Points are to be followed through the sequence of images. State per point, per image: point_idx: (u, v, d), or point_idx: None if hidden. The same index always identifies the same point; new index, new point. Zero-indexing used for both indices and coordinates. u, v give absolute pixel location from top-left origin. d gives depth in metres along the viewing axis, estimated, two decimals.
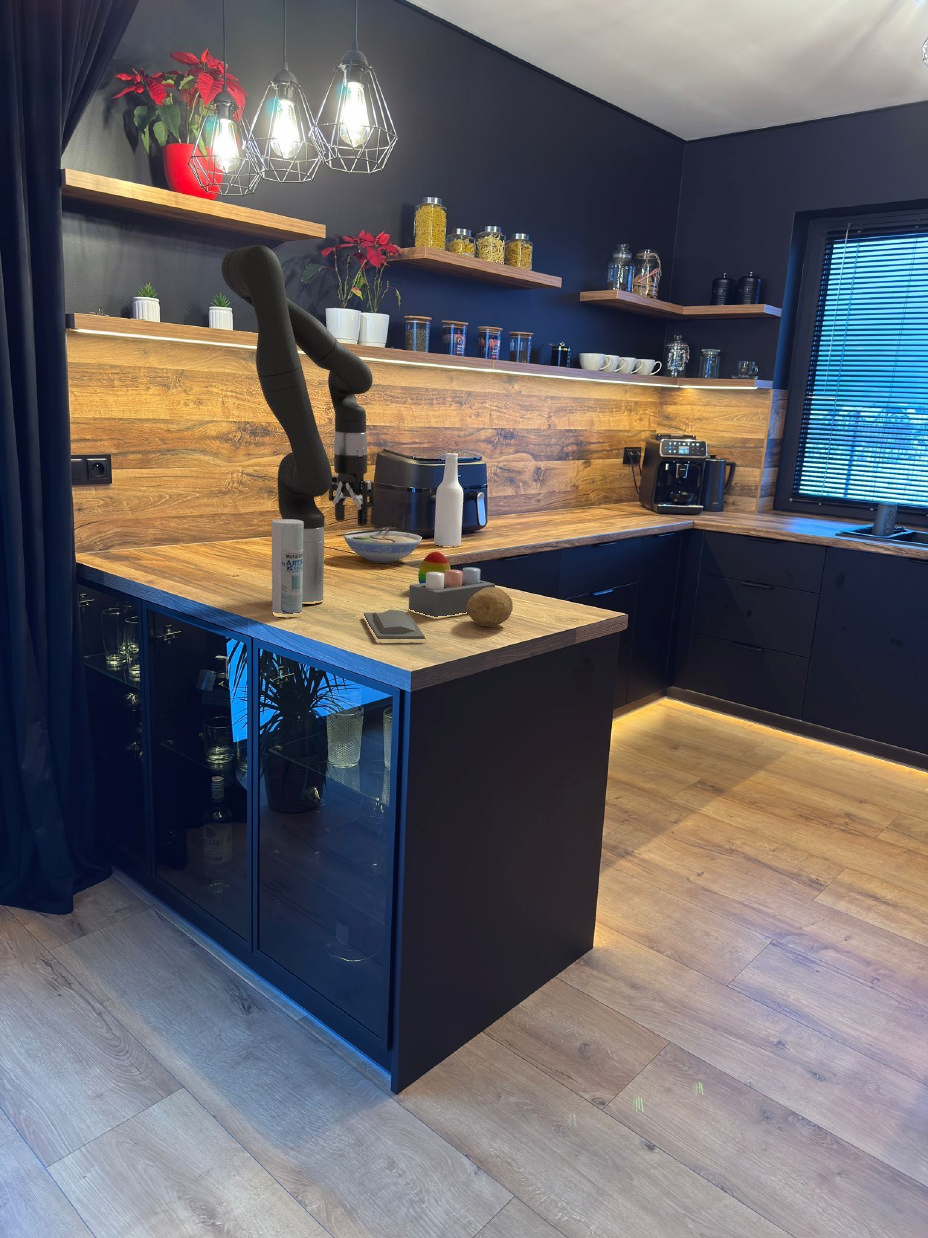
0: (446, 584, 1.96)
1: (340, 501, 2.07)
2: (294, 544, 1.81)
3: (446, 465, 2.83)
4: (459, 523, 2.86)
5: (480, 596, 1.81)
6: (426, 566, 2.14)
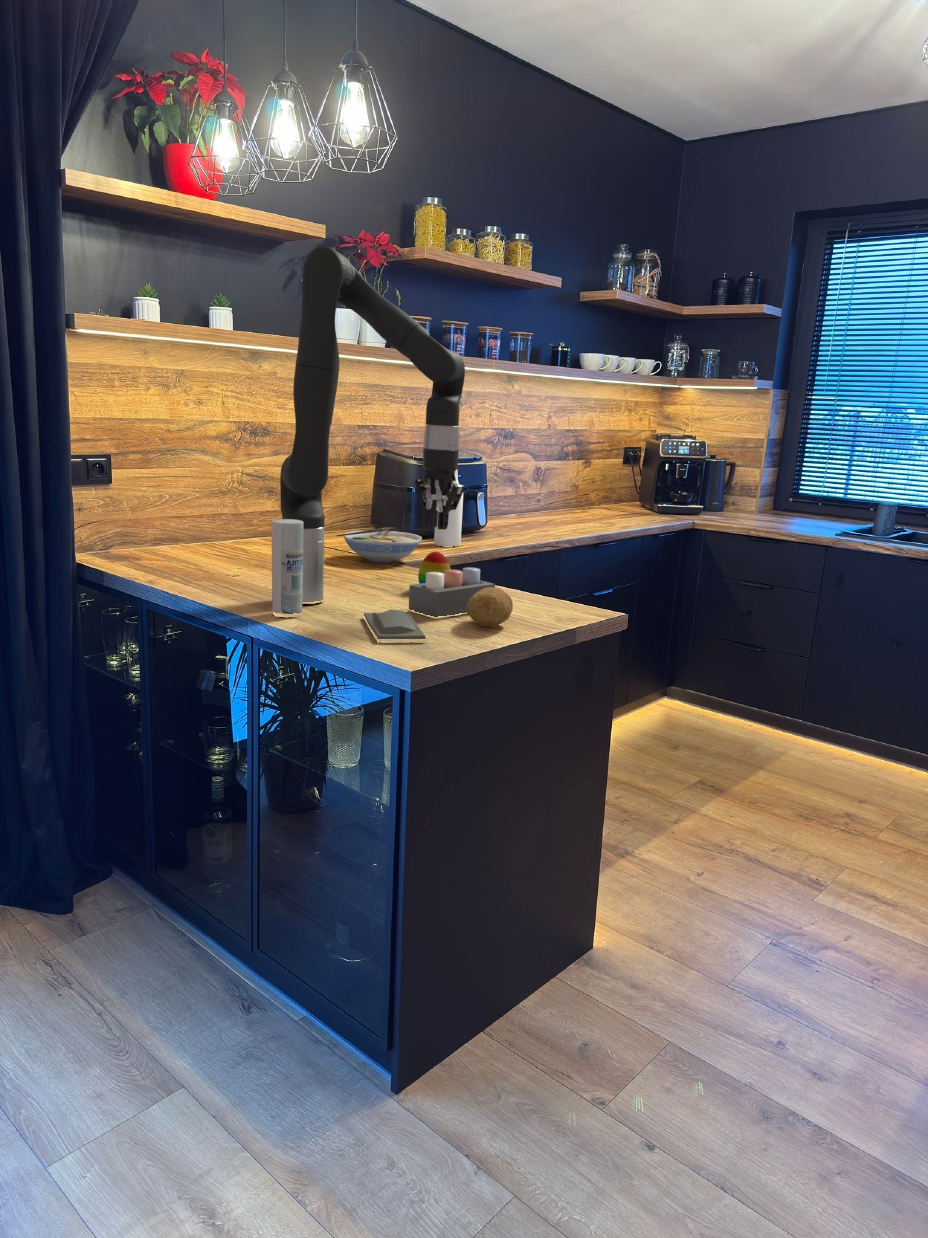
0: (446, 584, 1.96)
1: (433, 505, 1.91)
2: (294, 544, 1.81)
3: None
4: (459, 523, 2.86)
5: (480, 596, 1.81)
6: (426, 566, 2.14)
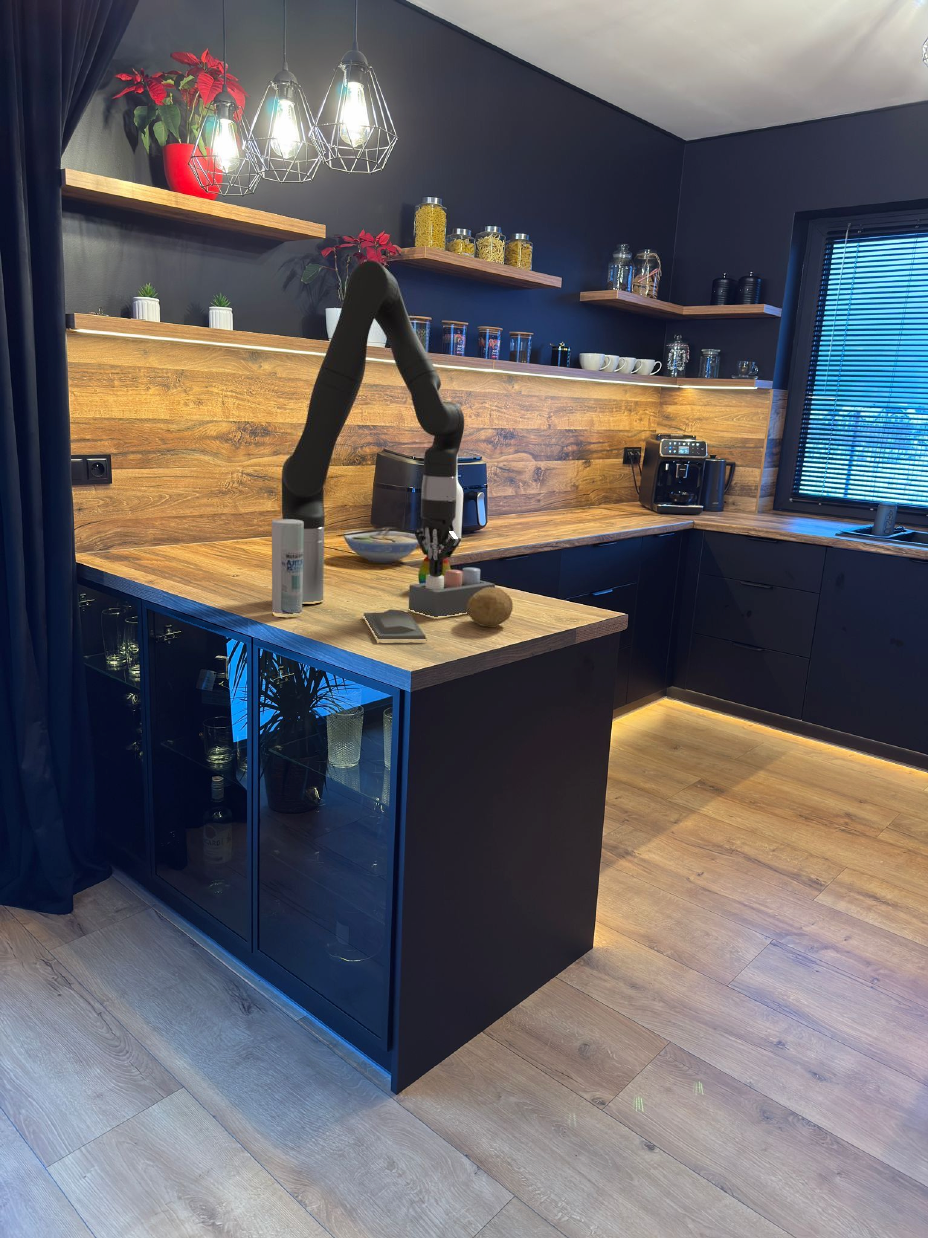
0: (446, 584, 1.96)
1: None
2: (294, 544, 1.81)
3: None
4: (459, 523, 2.86)
5: (480, 596, 1.81)
6: (426, 566, 2.14)
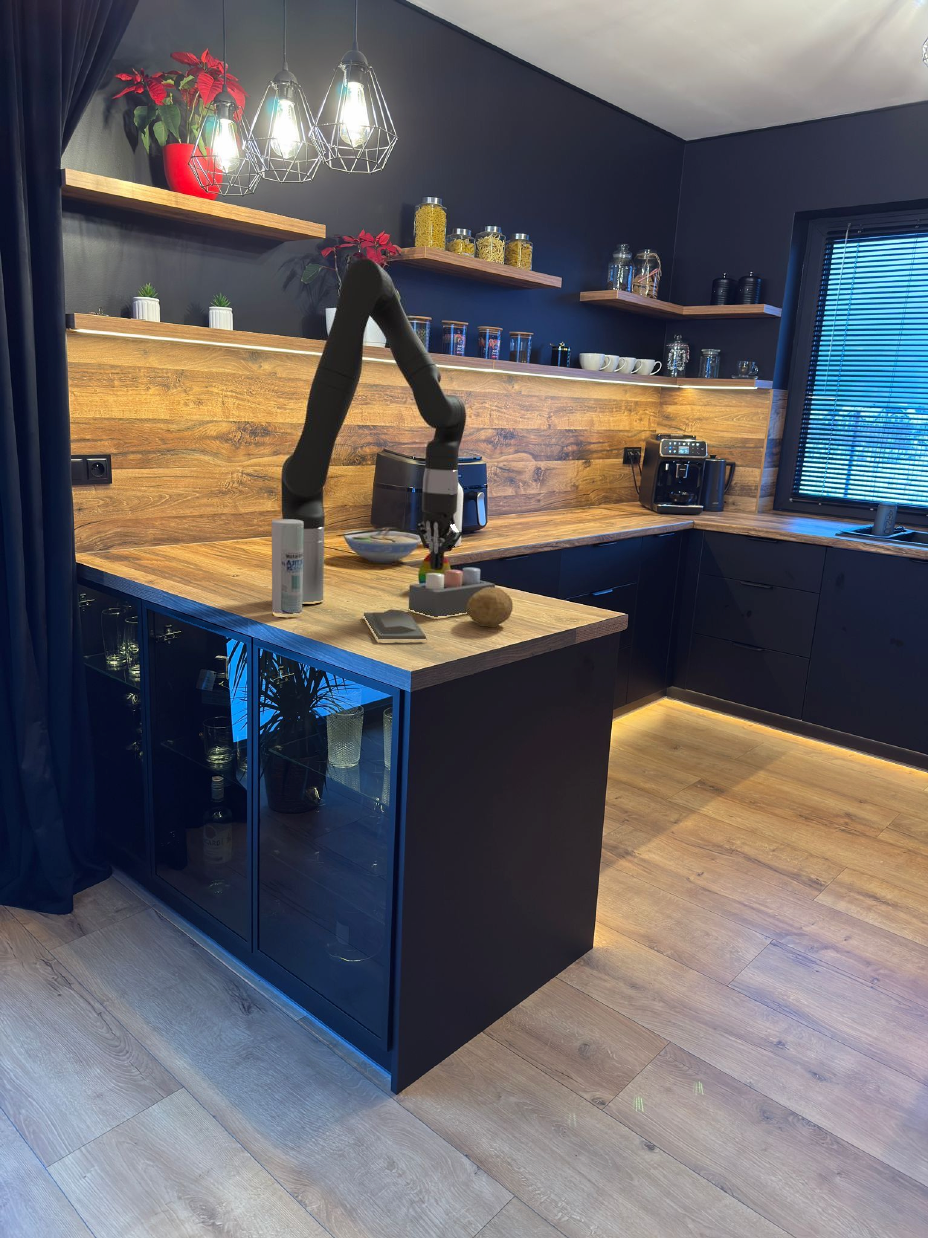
0: (446, 584, 1.96)
1: None
2: (294, 544, 1.81)
3: None
4: (459, 523, 2.86)
5: (480, 596, 1.81)
6: (426, 566, 2.14)
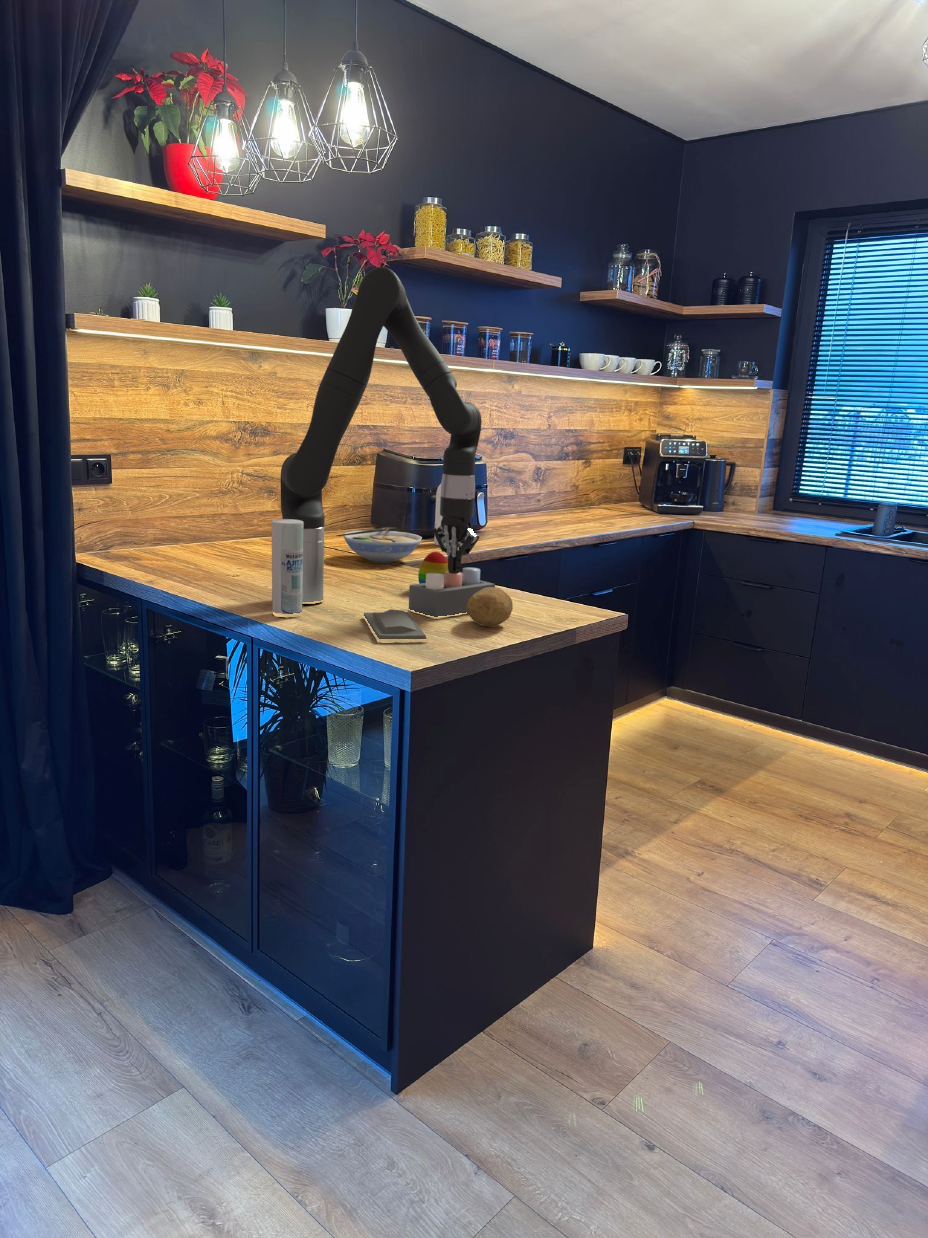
0: None
1: None
2: (294, 544, 1.81)
3: None
4: None
5: (480, 596, 1.81)
6: (426, 566, 2.14)
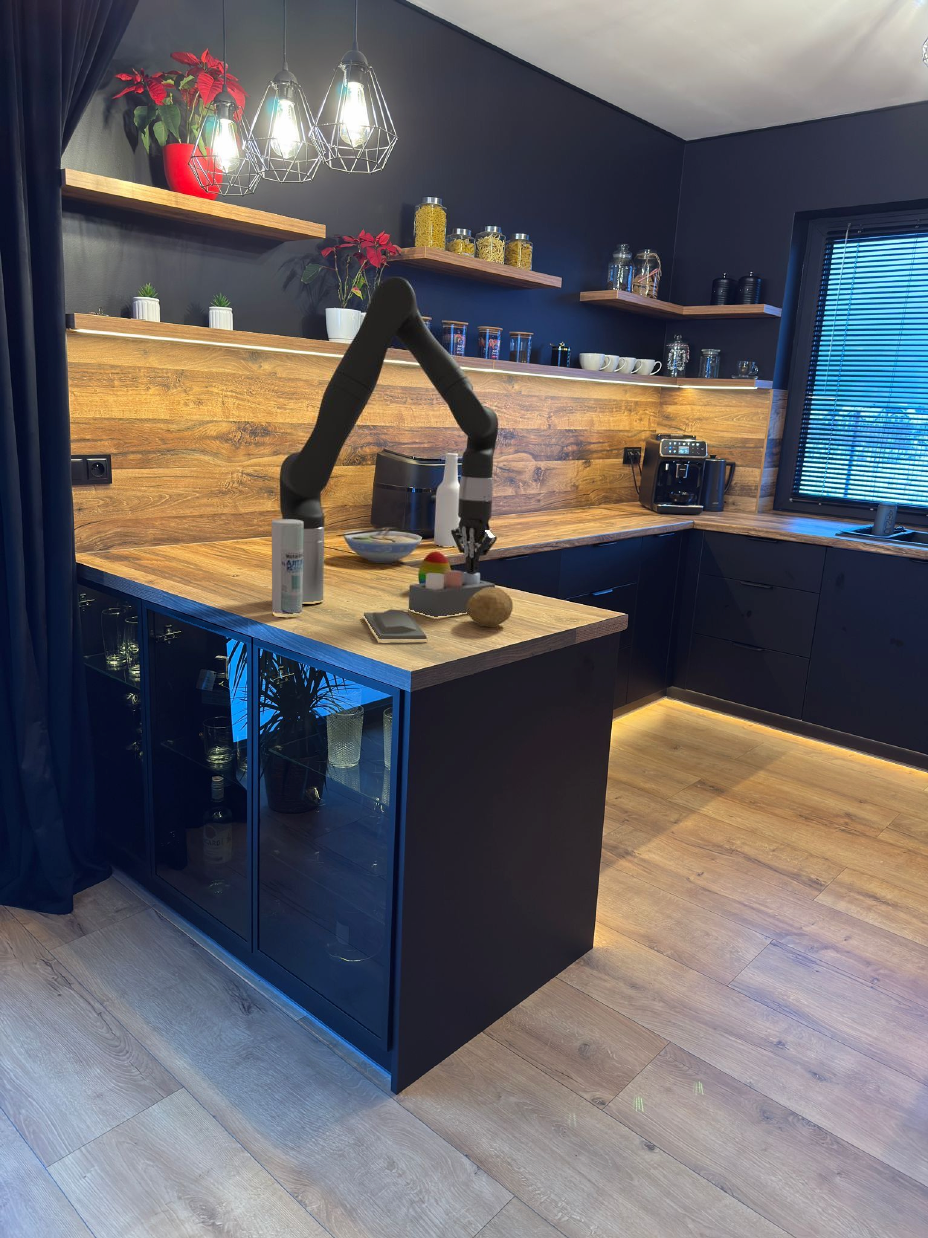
0: (446, 584, 1.96)
1: None
2: (294, 544, 1.81)
3: (446, 465, 2.83)
4: None
5: (480, 596, 1.81)
6: (426, 566, 2.14)
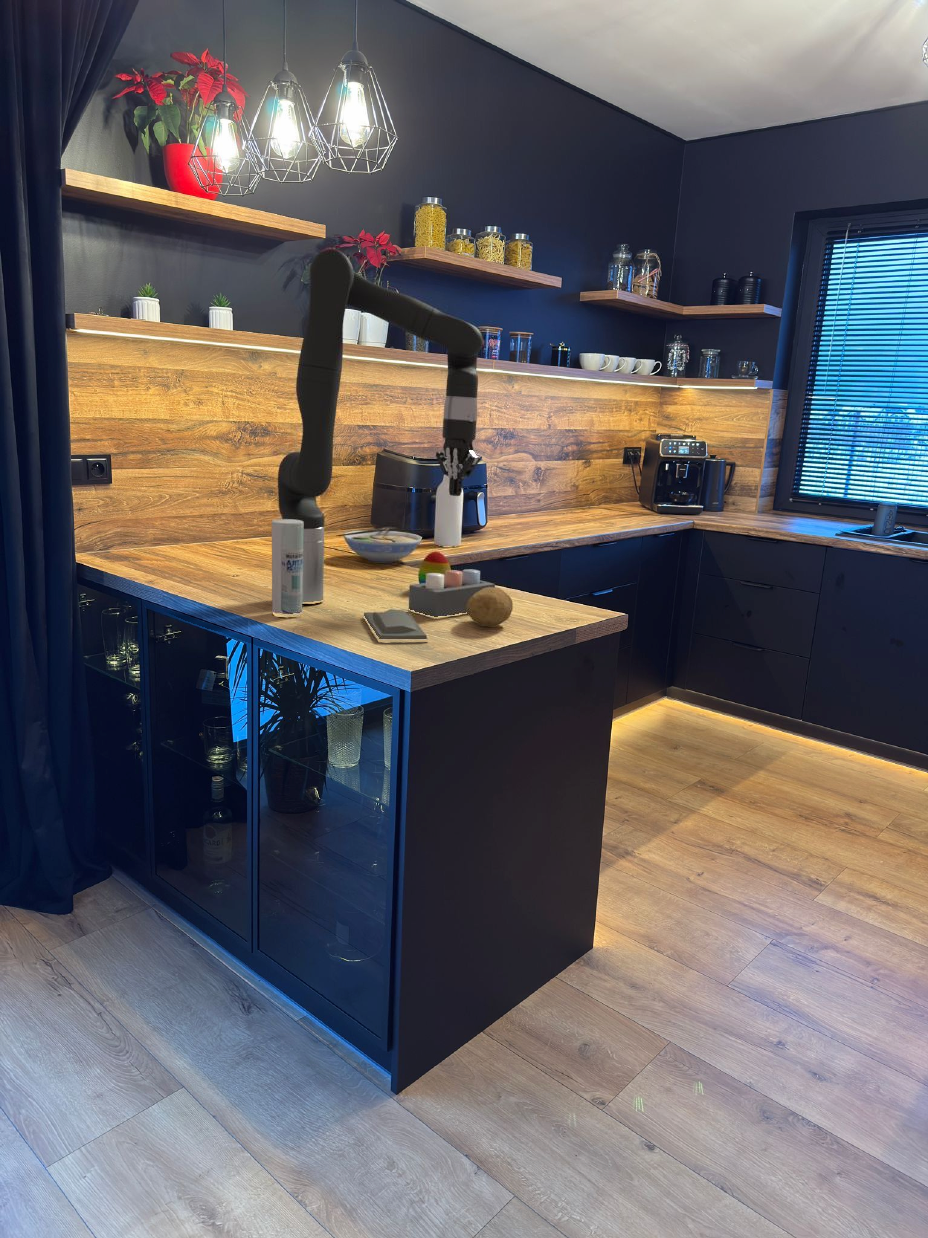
0: (446, 584, 1.96)
1: None
2: (294, 544, 1.81)
3: None
4: (459, 523, 2.86)
5: (480, 596, 1.81)
6: (426, 566, 2.14)
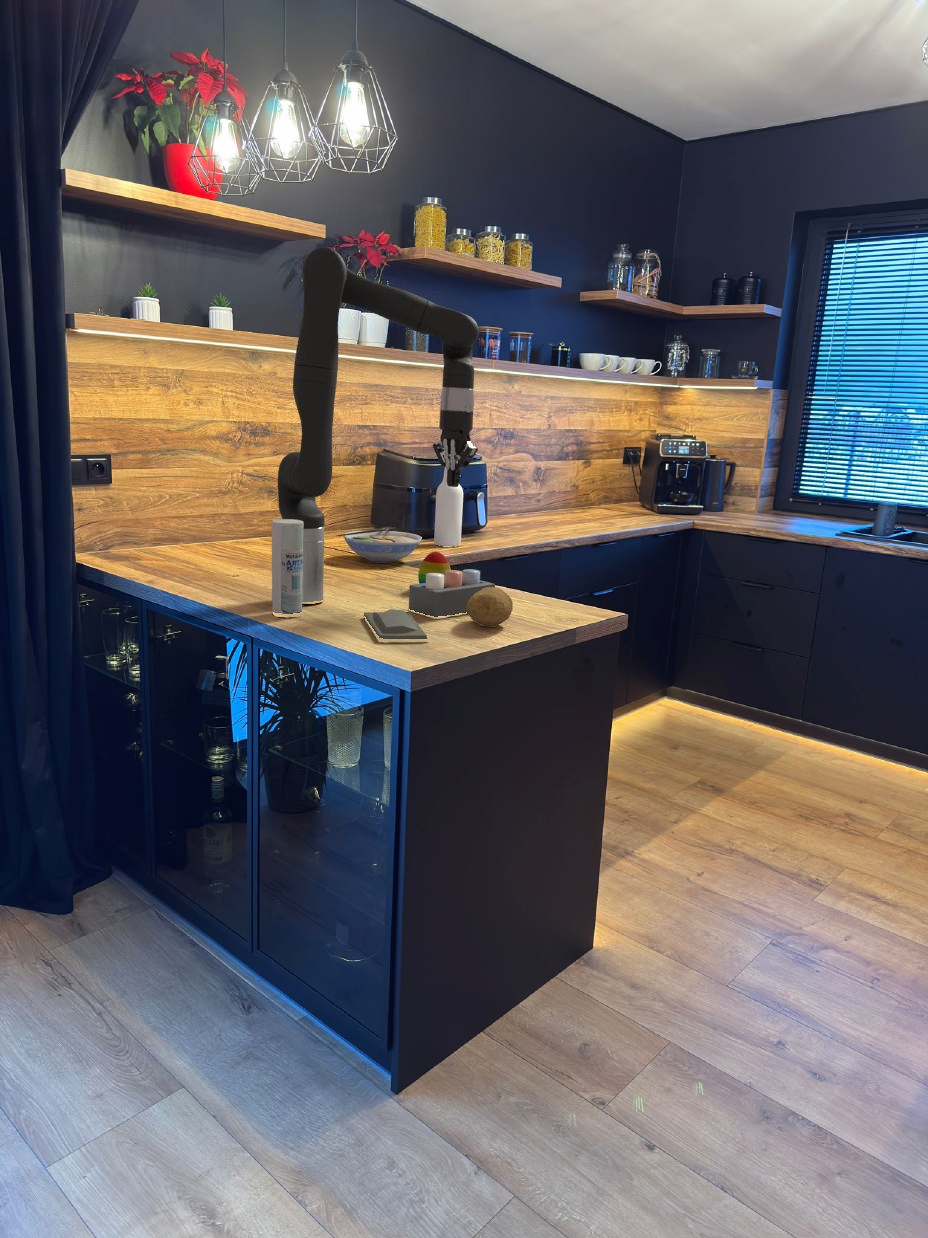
0: (446, 584, 1.96)
1: None
2: (294, 544, 1.81)
3: None
4: (459, 523, 2.86)
5: (480, 596, 1.81)
6: (426, 566, 2.14)
